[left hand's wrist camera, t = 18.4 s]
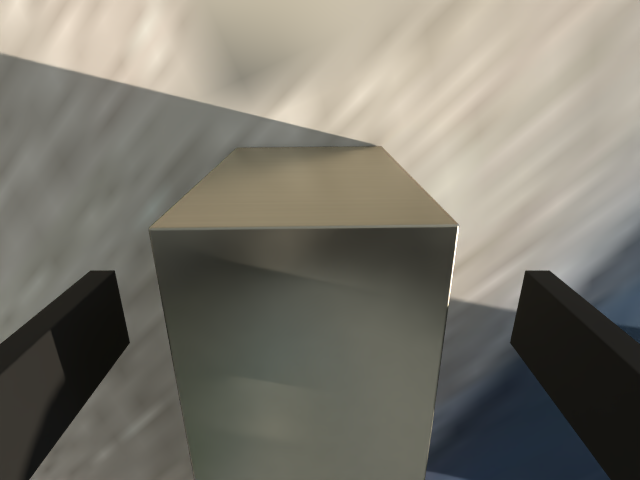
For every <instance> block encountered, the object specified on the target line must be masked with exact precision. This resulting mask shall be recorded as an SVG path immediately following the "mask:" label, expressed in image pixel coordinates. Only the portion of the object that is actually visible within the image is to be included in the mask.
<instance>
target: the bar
mask: <svg viewBox="0 0 640 480" xmlns="http://www.w3.org/2000/svg"><path fill="white" fill-rule="evenodd" d="M458 231H459V224H458V223H457V222H456V221H455V220H454V219H453V218H452V217H451V216H450V215H449V214H448V213H447V212H446V211H445V210H444V209H443V208H442V207H441V206H440V205H439V204H438V203H437V202H436V201H435V200H434V199H433V198H432V197H431V196H430V195H429V194H428V193H427V192H426V191H425V190H424V189H423V188H422V187H421V186H420V185H419V184H418V183H417V182H416V181H415V180H414V179H413V178H412V177H411V176H410V175H409V174H408V173H407V172H406V171H405V170H404V169H403V168H402V167H401V166H400V165H399V164H398V163H397V162H396V161H395V159H394V158H393V157H392V156H391V155H390V154H389V153H388V152H387V151H386V150H385V149H384V148H383V147H381V146H367V147H255V148H236V149H235V150H234V151H233V152H232V153H231V154H230V155H229V156H227V157H226V158H225V159H224V160H223V161H222V162H221V163H220V164H219V165H218V166H216V167H215V168H214V169H213V170H212V171H211V172H210V173H209V174H208V175H207V176H205V177H204V178H203V179H202V180H201V181H200V182H199V183H198V184H197V185H196V186H194V187H193V188H192V189H191V190H190V191H189V192H188V193H187V194H186V195H185V196H184V197H182V198H181V199H180V200H179V201H178V202H177V203H176V204H175V205H174V206H173V207H171V208H170V209H169V210H168V211H167V212H166V213H165V214H164V215H163V216H162V217H160V218H159V219H158V220H157V221H156V222H155V223H154V224H153V225H152V226H151V227H149V234H150V240H151V245H152V251H153V256H154V262H155V267H156V273H157V278H158V284H159V289H160V295H161V300H162V305H163V311H164V316H165V322H166V327H167V333H168V338H169V344H170V349H171V355H172V360H173V366H174V371H175V376H176V382H177V387H178V393H179V398H180V404H181V409H182V415H183V420H184V426H185V431H186V437H187V442H188V448H189V453H190V458H191V464H192V469H193V475H194V480H425V474H426V467H427V460H428V452H429V445H430V438H431V430H432V423H433V415H434V408H435V401H436V393H437V386H438V378H439V371H440V364H441V356H442V349H443V342H444V334H445V327H446V319H447V312H448V305H449V297H450V290H451V283H452V275H453V268H454V260H455V253H456V246H457V238H458Z"/></svg>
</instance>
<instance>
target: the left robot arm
mask: <svg viewBox="0 0 640 480" xmlns="http://www.w3.org/2000/svg"><path fill="white" fill-rule="evenodd" d="M129 343H130V341H129V336H128V332H127V327H126V322H125V317H124V313H123V308H122V303H121V299H120V294H119V289H118V284H117V280H116V275H115V271H90V272H88V273H87V274H86V275H85V276H83V277H82V278H81V279H80V280H79V281H77V282H76V283H75V284H74V285H72V286H71V287H70V288H69V289H67V290H66V291H65V292H64V293H63V294H61V295H60V296H59V297H58V298H56V299H55V300H54V301H53V302H51V303H50V304H49V305H48V306H47V307H45V308H44V309H43V310H42V311H40V312H39V313H38V314H37V315H35V316H34V317H33V318H32V319H31V320H29V321H28V322H27V323H26V324H24V325H23V326H22V327H21V328H20V329H18V330H17V331H16V332H15V333H13V334H12V335H11V336H10V337H8V338H7V339H6V340H5V341H4V342H2V343H1V344H0V480H29V479H30V478H31V476H32V475H33V474H34V472H35V471H36V470H37V468H38V467H39V466H40V464H41V463H42V462H43V460H44V459H45V457H46V456H47V455H48V453H49V452H50V451H51V449H52V448H53V447H54V445H55V444H56V442H57V441H58V440H59V438H60V437H61V436H62V434H63V433H64V432H65V430H66V429H67V428H68V426H69V425H70V423H71V422H72V421H73V419H74V418H75V417H76V415H77V414H78V413H79V411H80V410H81V408H82V407H83V406H84V404H85V403H86V402H87V400H88V399H89V398H90V396H91V395H92V393H93V392H94V391H95V389H96V388H97V387H98V385H99V384H100V383H101V381H102V380H103V379H104V377H105V376H106V374H107V373H108V372H109V370H110V369H111V368H112V366H113V365H114V364H115V362H116V361H117V359H118V358H119V357H120V355H121V354H122V353H123V351H124V350H125V349H126V347H127V346H128V345H129ZM510 343H511V345H512V346H513V347H514V349H515V350H516V351H517V353H518V354H519V355H520V357H521V358H522V359H523V361H524V362H525V364H526V365H527V366H528V368H529V369H530V370H531V372H532V373H533V374H534V376H535V377H536V379H537V380H538V381H539V383H540V384H541V385H542V387H543V388H544V389H545V391H546V392H547V393H548V395H549V396H550V398H551V399H552V400H553V402H554V403H555V404H556V406H557V407H558V408H559V410H560V411H561V413H562V414H563V415H564V417H565V418H566V419H567V421H568V422H569V423H570V425H571V426H572V428H573V429H574V430H575V432H576V433H577V434H578V436H579V437H580V438H581V440H582V441H583V442H584V444H585V445H586V447H587V448H588V449H589V451H590V452H591V453H592V455H593V456H594V457H595V459H596V460H597V462H598V463H599V464H600V466H601V467H602V468H603V470H604V471H605V472H606V474H607V475H608V476H609V478H610V479H611V480H640V344H639V343H638V342H636V341H635V340H634V339H633V338H632V337H630V336H629V335H628V334H627V333H625V332H624V331H623V330H622V329H620V328H619V327H618V326H617V325H616V324H614V323H613V322H612V321H611V320H609V319H608V318H607V317H606V316H605V315H603V314H602V313H601V312H600V311H598V310H597V309H596V308H595V307H593V306H592V305H591V304H590V303H589V302H587V301H586V300H585V299H584V298H582V297H581V296H580V295H579V294H577V293H576V292H575V291H574V290H573V289H571V288H570V287H569V286H568V285H566V284H565V283H564V282H563V281H561V280H560V279H559V278H558V277H557V276H555V275H554V274H553V273H552V272H550V271H525V275H524V280H523V284H522V289H521V294H520V299H519V303H518V308H517V313H516V317H515V322H514V327H513V332H512V336H511V341H510Z"/></svg>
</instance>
